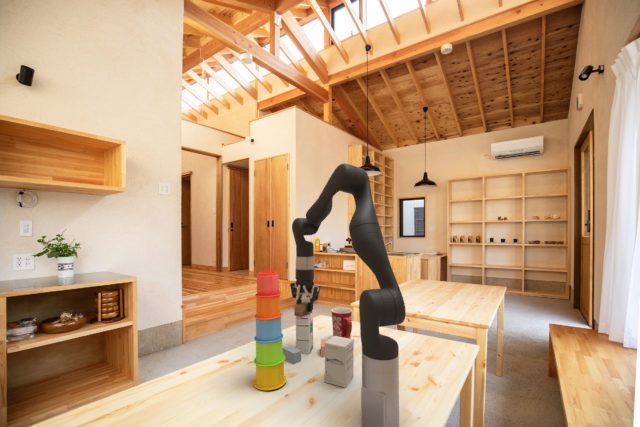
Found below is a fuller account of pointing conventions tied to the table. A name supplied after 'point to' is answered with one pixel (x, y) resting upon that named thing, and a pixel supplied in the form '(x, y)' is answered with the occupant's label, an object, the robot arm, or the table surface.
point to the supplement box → (339, 361)
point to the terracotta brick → (323, 348)
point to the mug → (342, 322)
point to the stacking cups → (268, 334)
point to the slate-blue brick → (292, 354)
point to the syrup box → (304, 333)
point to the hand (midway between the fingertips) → (304, 310)
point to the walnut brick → (301, 309)
